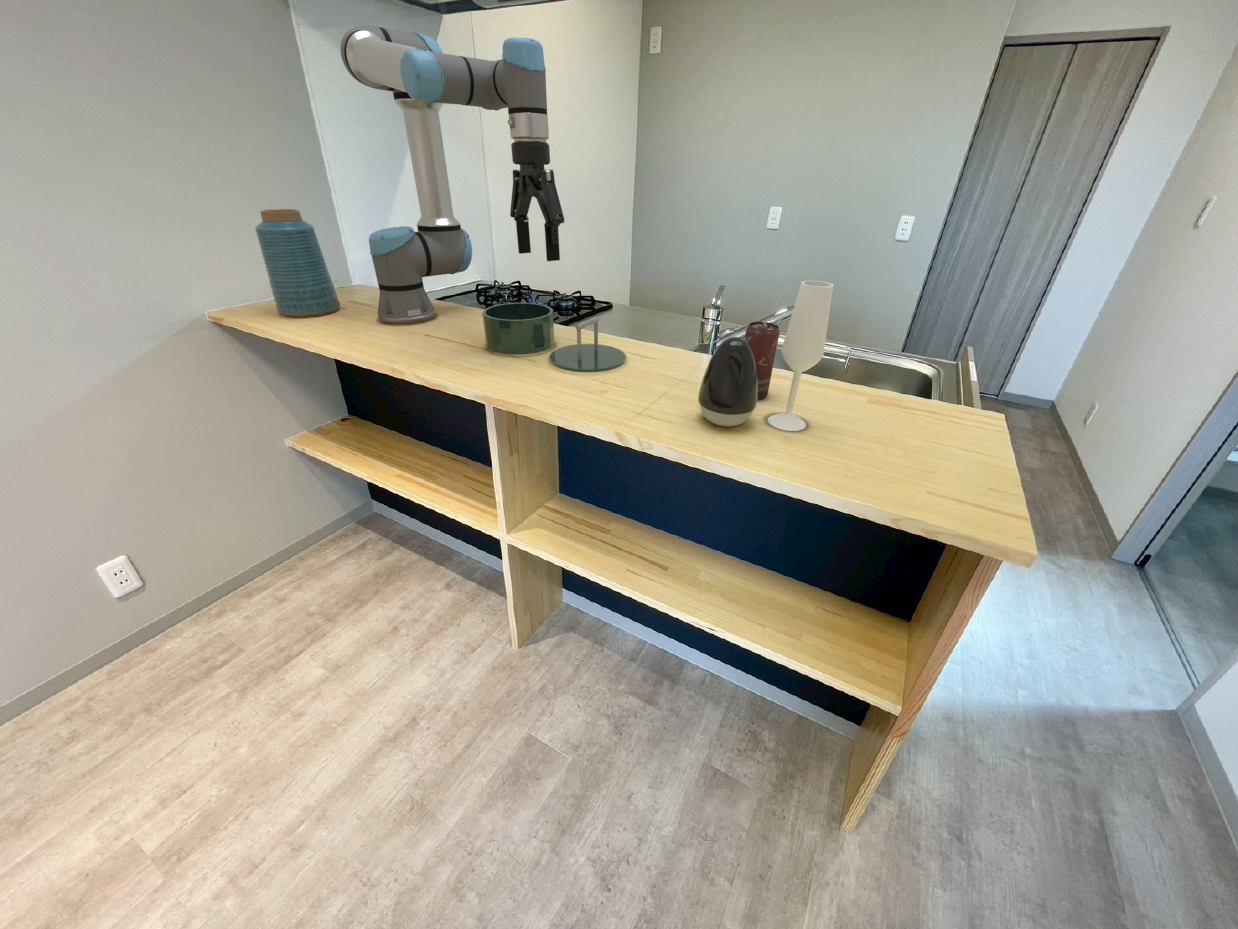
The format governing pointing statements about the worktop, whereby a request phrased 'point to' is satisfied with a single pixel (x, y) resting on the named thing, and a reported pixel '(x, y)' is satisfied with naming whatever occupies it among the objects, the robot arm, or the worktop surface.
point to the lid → (588, 353)
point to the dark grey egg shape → (730, 383)
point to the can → (763, 352)
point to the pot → (519, 328)
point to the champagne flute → (804, 343)
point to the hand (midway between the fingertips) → (538, 256)
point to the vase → (295, 265)
